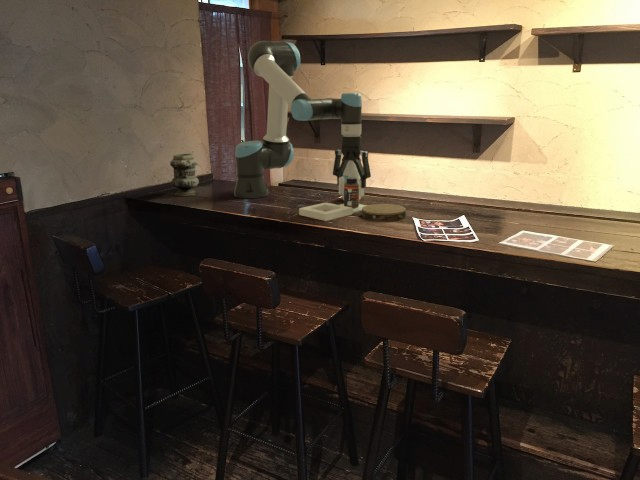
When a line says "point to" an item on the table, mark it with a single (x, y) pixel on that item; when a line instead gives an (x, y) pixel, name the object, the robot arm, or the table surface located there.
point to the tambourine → (383, 212)
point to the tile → (357, 208)
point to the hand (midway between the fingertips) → (351, 194)
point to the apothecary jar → (184, 173)
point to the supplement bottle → (351, 193)
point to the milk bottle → (350, 173)
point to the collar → (331, 211)
